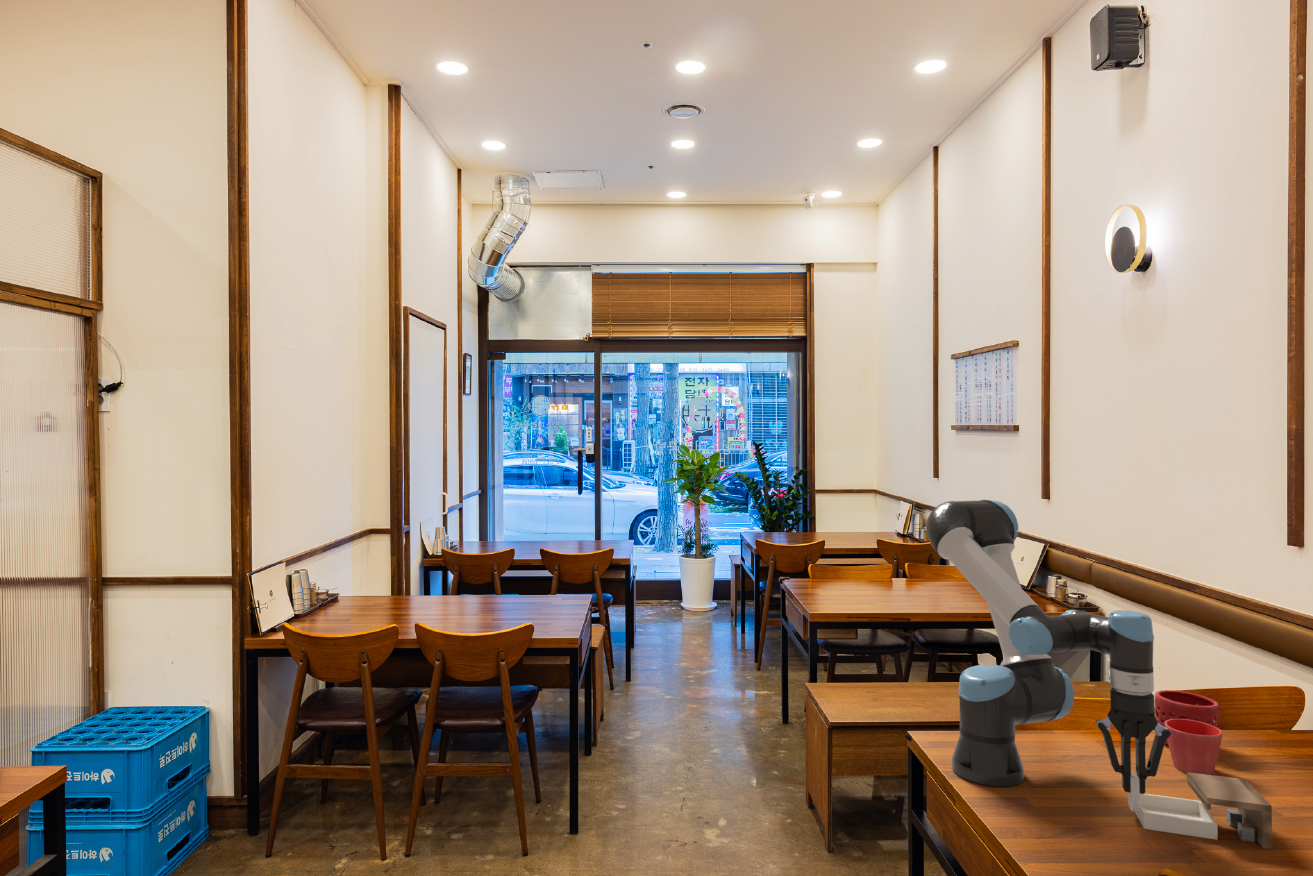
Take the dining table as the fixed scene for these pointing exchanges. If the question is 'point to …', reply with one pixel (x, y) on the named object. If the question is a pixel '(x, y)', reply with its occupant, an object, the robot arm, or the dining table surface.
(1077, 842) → the dining table surface
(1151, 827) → the tray
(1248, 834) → the small stepped grey block
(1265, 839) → the shelf
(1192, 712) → the plant pot
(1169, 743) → the flower pot
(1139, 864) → the dining table surface
